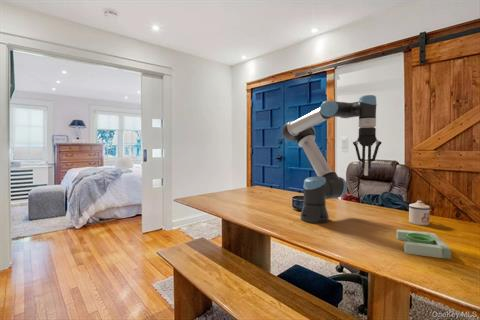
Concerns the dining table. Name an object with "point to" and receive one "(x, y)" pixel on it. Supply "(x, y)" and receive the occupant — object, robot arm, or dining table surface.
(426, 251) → the holder
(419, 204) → the teacup with lid
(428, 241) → the ramekin
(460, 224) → the dining table surface
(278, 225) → the dining table surface
